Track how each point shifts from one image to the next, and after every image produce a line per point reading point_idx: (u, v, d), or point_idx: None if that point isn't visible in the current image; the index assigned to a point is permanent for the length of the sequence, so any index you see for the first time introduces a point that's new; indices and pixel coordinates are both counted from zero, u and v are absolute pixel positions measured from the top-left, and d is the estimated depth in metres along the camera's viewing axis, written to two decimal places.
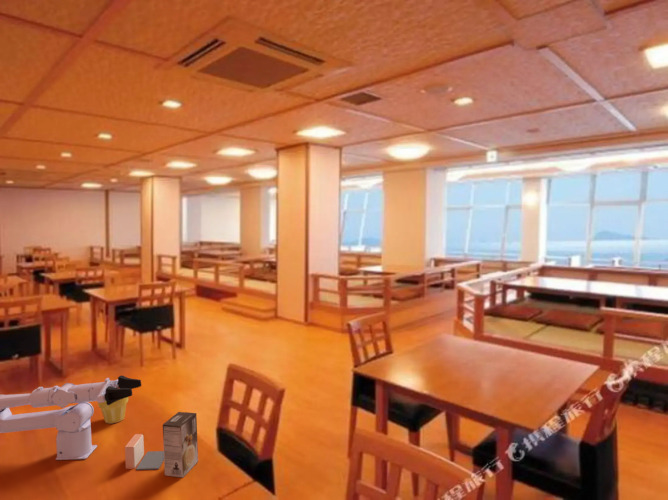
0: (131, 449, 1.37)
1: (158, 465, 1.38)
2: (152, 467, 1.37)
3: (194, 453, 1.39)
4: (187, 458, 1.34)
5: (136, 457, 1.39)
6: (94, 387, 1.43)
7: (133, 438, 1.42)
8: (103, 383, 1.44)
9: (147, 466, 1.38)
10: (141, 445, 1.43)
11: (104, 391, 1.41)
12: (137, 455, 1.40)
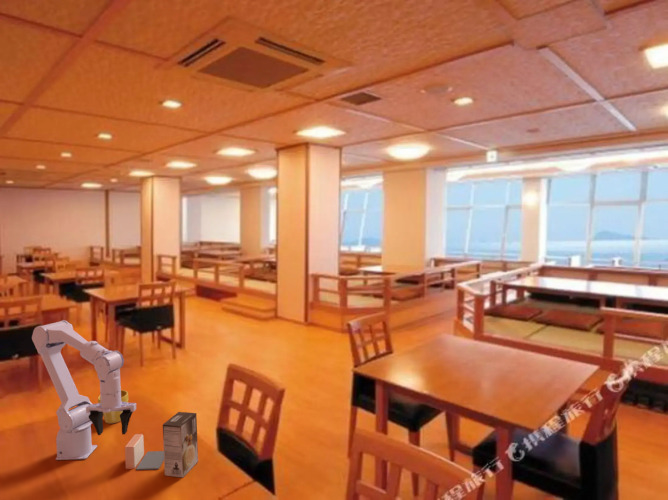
0: (131, 449, 1.37)
1: (158, 465, 1.38)
2: (152, 467, 1.37)
3: (194, 453, 1.39)
4: (187, 458, 1.34)
5: (136, 457, 1.39)
6: (101, 398, 1.37)
7: (133, 438, 1.42)
8: (104, 406, 1.37)
9: (147, 466, 1.38)
10: (141, 445, 1.43)
11: None
12: (137, 455, 1.40)
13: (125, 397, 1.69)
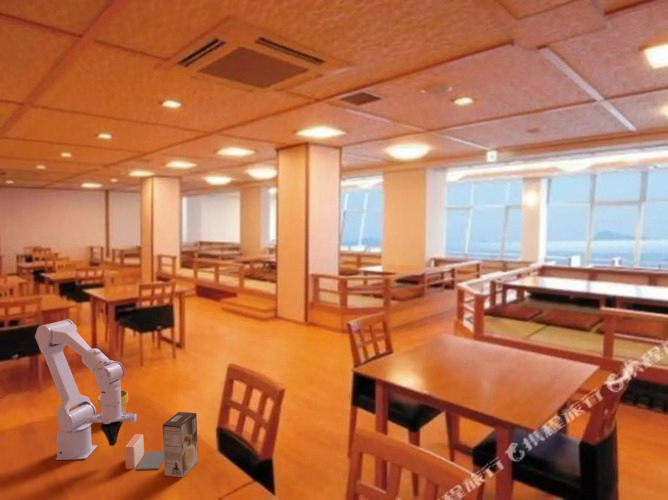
0: (131, 449, 1.37)
1: (158, 465, 1.38)
2: (152, 467, 1.37)
3: (194, 453, 1.39)
4: (187, 458, 1.34)
5: (136, 457, 1.39)
6: (102, 409, 1.37)
7: (133, 438, 1.42)
8: (105, 417, 1.37)
9: (147, 466, 1.38)
10: (141, 445, 1.43)
11: None
12: (137, 455, 1.40)
13: (125, 397, 1.69)
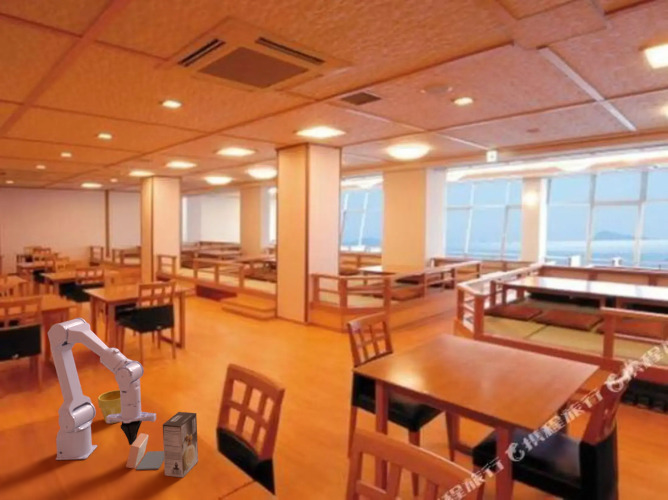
0: (137, 449, 1.37)
1: (158, 465, 1.38)
2: (152, 467, 1.37)
3: (194, 453, 1.39)
4: (187, 458, 1.34)
5: (138, 457, 1.39)
6: (122, 409, 1.38)
7: (139, 437, 1.42)
8: (125, 417, 1.37)
9: (147, 466, 1.38)
10: (144, 445, 1.43)
11: None
12: (139, 455, 1.40)
13: None
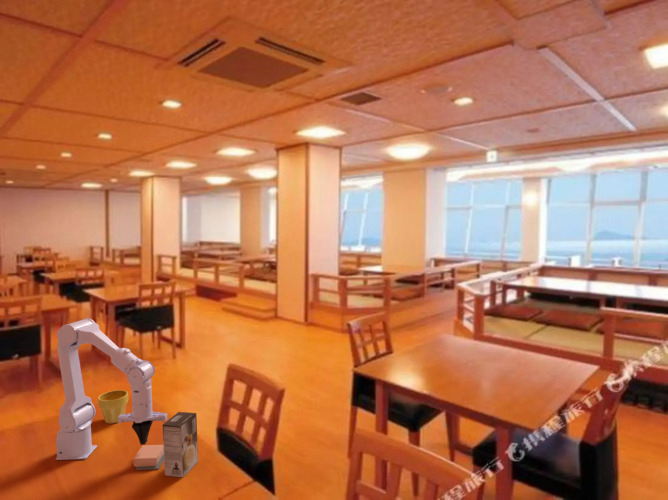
0: (153, 464, 1.38)
1: (158, 465, 1.38)
2: (152, 467, 1.37)
3: (194, 453, 1.39)
4: (187, 458, 1.34)
5: None
6: (133, 409, 1.38)
7: (162, 450, 1.43)
8: (137, 416, 1.38)
9: (147, 466, 1.38)
10: None
11: None
12: None
13: (125, 397, 1.69)
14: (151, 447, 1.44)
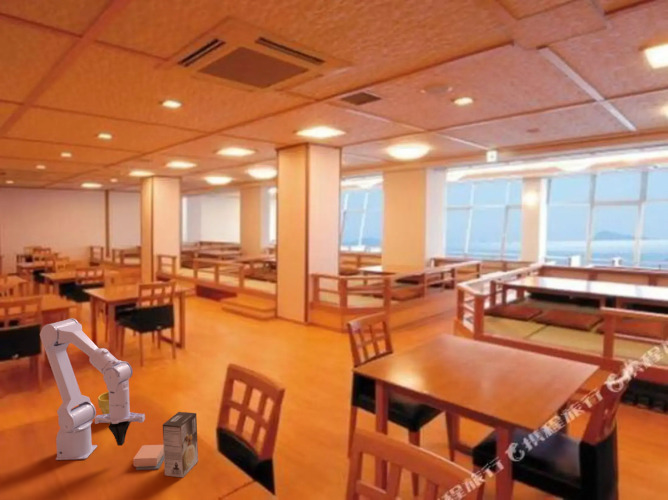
0: (153, 464, 1.38)
1: (158, 465, 1.38)
2: (152, 467, 1.37)
3: (194, 453, 1.39)
4: (187, 458, 1.34)
5: None
6: (110, 409, 1.38)
7: (162, 450, 1.43)
8: (113, 417, 1.37)
9: (147, 466, 1.38)
10: None
11: None
12: None
13: None
14: (151, 447, 1.44)
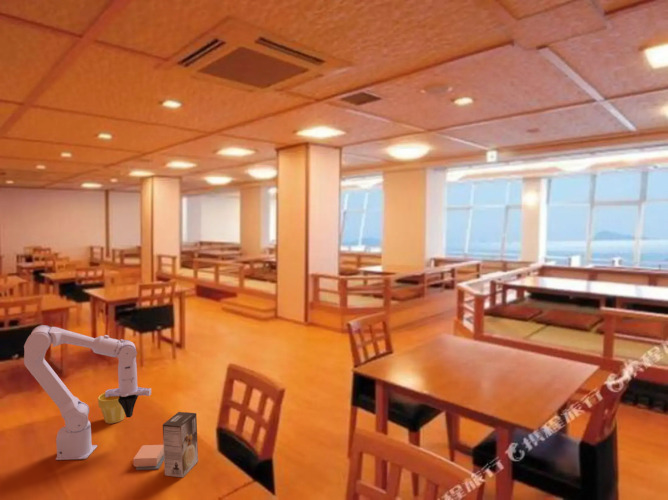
0: (153, 464, 1.38)
1: (158, 465, 1.38)
2: (152, 467, 1.37)
3: (194, 453, 1.39)
4: (187, 458, 1.34)
5: None
6: (119, 384, 1.49)
7: (162, 450, 1.43)
8: (122, 391, 1.49)
9: (147, 466, 1.38)
10: None
11: None
12: None
13: None
14: (151, 447, 1.44)
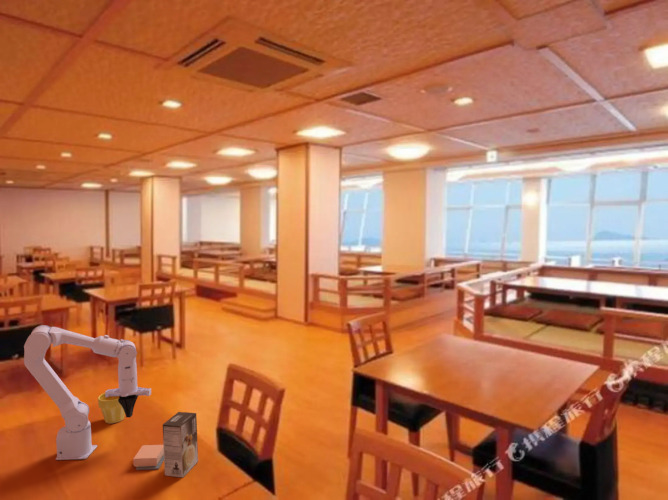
0: (153, 464, 1.38)
1: (158, 465, 1.38)
2: (152, 467, 1.37)
3: (194, 453, 1.39)
4: (187, 458, 1.34)
5: None
6: (119, 384, 1.49)
7: (162, 450, 1.43)
8: (122, 391, 1.49)
9: (147, 466, 1.38)
10: None
11: None
12: None
13: None
14: (151, 447, 1.44)
